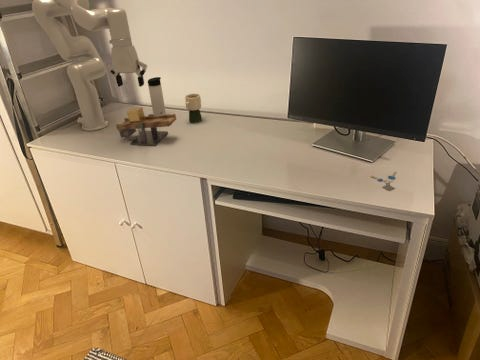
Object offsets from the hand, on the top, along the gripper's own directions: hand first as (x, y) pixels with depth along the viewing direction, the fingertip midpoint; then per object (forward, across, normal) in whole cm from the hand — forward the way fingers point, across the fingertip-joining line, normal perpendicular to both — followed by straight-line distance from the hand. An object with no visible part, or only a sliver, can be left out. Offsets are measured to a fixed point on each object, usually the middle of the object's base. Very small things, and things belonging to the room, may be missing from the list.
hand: (131, 85), depth 155 cm
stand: (+24, +4, 0) cm, 25 cm away
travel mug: (+24, -3, +28) cm, 37 cm away
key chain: (+26, +101, -24) cm, 107 cm away
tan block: (+16, 0, 0) cm, 17 cm away
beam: (+21, +4, 0) cm, 22 cm away
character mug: (+24, +18, +23) cm, 38 cm away
